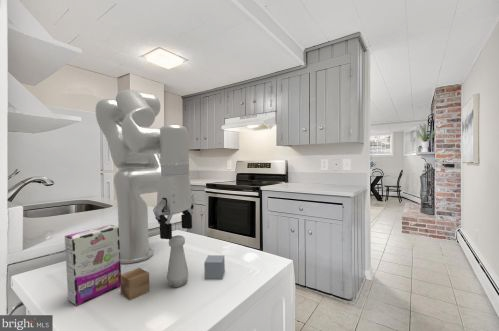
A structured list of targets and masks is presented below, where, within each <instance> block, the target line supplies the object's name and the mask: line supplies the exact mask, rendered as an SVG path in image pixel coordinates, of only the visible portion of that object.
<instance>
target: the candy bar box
mask: <svg viewBox="0 0 499 331" xmlns="http://www.w3.org/2000/svg"><path fill="white" fill-rule="evenodd" d="M64 248H65V249H64V250H65V262H66V263H65V264H66V265H65V266H66V283H67V284H66V285H67V299H68V302H70V301H71V302H72V304H73V303H74V304H75V306H76V305H78V306H80V305H82V304H85V303H87V302H89V301H91V300H93V299H95V298H97V297H100V296H102V295H103V294H106V293H109V292H110V291H112V290H114V289H117V288H118V287H121V275H122V269H121V268H122V265H121V264H122V263H120V242H119V227H118V226H117V225H113V224H108V225H103V226H100V227H95V228H92V229H91V228H90V229H87V230H83V231H80V232H75V233H71V234H66V235H64ZM71 302H70V303H71ZM84 302H85V303H84ZM74 304H73V305H74ZM79 304H80V305H79Z"/></svg>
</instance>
